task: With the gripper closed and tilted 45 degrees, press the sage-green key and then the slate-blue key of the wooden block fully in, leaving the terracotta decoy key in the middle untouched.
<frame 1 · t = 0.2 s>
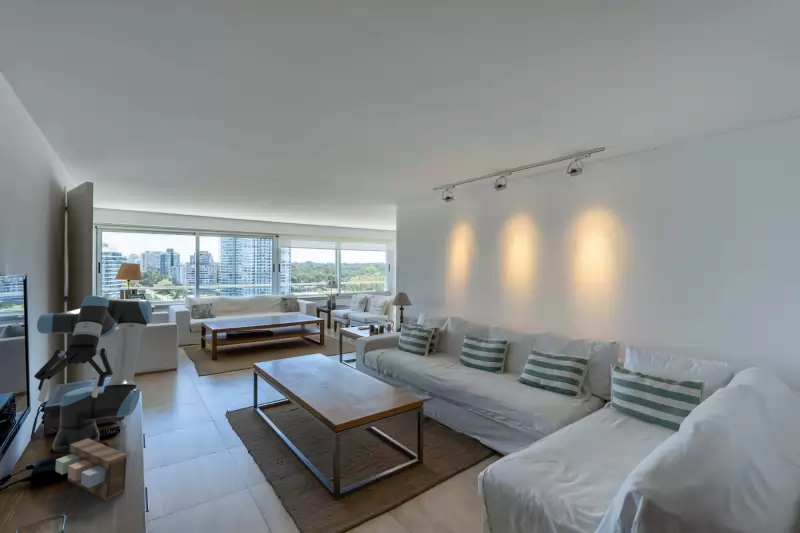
hand: (68, 398, 117), 35 cm above the tv stand, tool tilted 35°, fingers open, 13 cm apart
sage key: (68, 463, 127), point 8 cm above the tv stand, slide at 0.0 cm
wooden block: (94, 486, 128), on the tv stand
slate key: (94, 476, 120), point 8 cm above the tv stand, slide at 0.0 cm
terracotta key: (80, 469, 124), point 8 cm above the tv stand, slide at 0.0 cm
pottery mug: (92, 462, 142), on the tv stand
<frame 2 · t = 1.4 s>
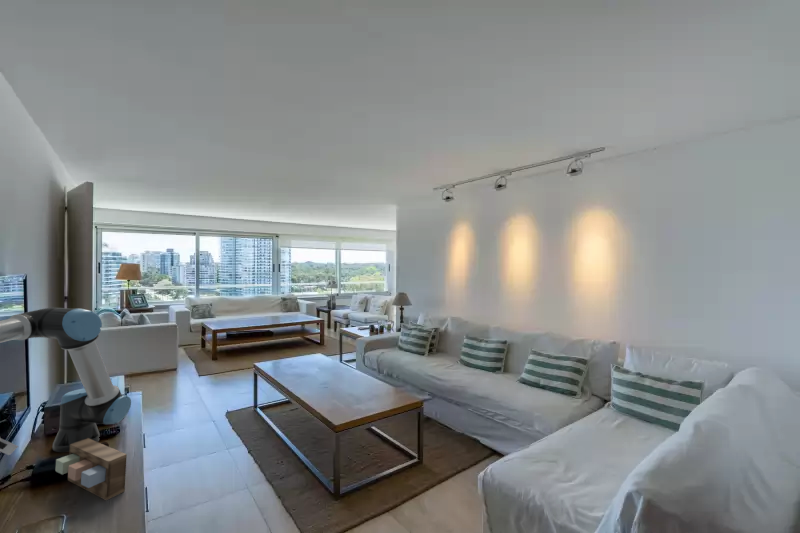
hand: (4, 446, 112), 21 cm above the tv stand, tool tilted 45°, fingers open, 11 cm apart
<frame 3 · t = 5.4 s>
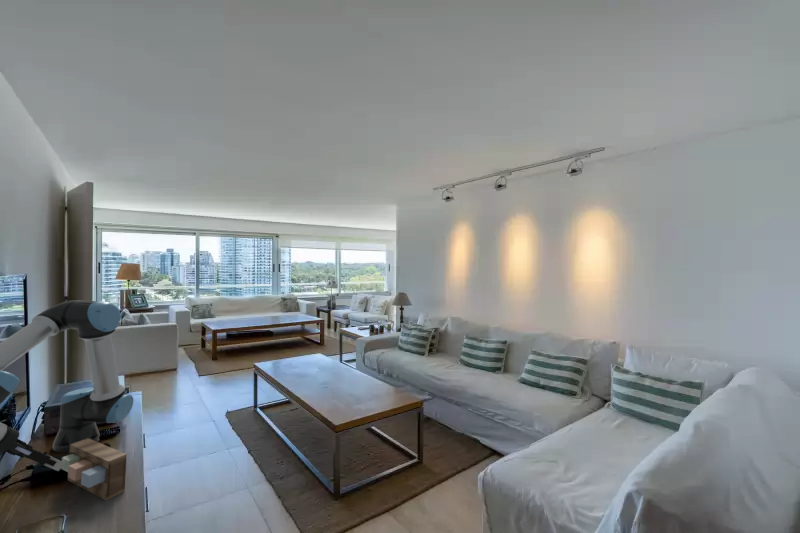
hand: (60, 466, 125), 8 cm above the tv stand, tool tilted 45°, fingers closed
sage key: (73, 461, 128), point 8 cm above the tv stand, slide at 1.6 cm, touching gripper
pottery mug: (94, 464, 142), on the tv stand
everything else where it was.
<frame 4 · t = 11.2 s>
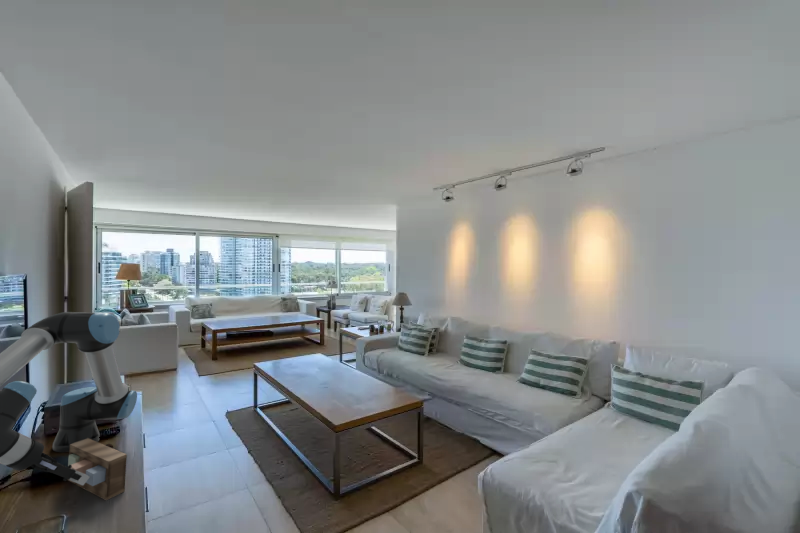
hand: (85, 480, 118), 8 cm above the tv stand, tool tilted 45°, fingers closed
sage key: (80, 459, 130), point 8 cm above the tv stand, slide at 3.5 cm
slate key: (98, 474, 122), point 8 cm above the tv stand, slide at 1.2 cm, touching gripper
pottery mug: (97, 465, 141), on the tv stand
everything else where it was.
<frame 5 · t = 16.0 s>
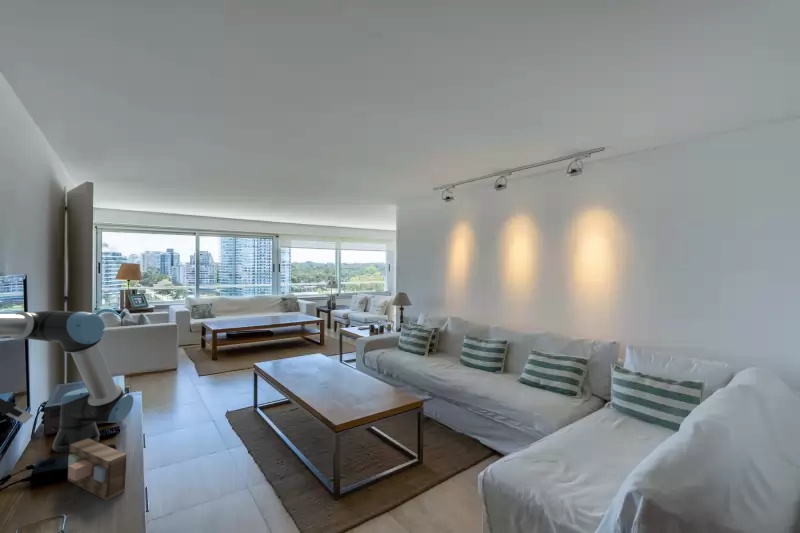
hand: (27, 418, 112), 30 cm above the tv stand, tool tilted 45°, fingers closed
slate key: (106, 471, 124), point 8 cm above the tv stand, slide at 3.5 cm
at the end: sage key slide at 3.5 cm; slate key slide at 3.5 cm; terracotta key slide at 0.0 cm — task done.
